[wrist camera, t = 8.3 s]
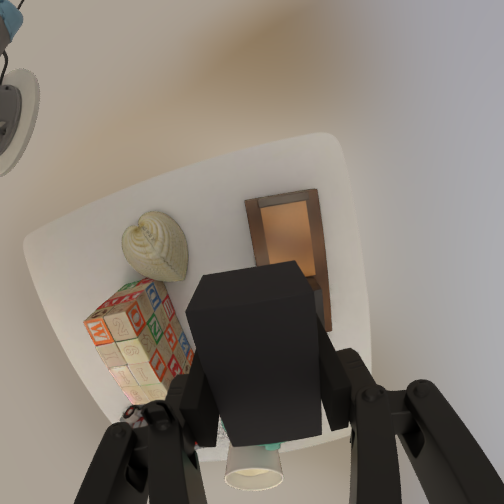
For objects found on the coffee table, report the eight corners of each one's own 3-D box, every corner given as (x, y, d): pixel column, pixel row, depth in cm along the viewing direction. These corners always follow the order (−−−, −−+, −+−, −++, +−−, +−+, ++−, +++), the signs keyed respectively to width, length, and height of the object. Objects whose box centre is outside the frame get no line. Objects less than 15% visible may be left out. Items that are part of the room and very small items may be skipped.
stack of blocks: (212, 389, 41) (204, 445, 29) (179, 394, 41) (164, 447, 29) (160, 272, 36) (124, 311, 24) (123, 283, 36) (80, 322, 24)
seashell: (155, 190, 31) (191, 232, 28) (174, 225, 39) (206, 262, 36) (103, 232, 29) (132, 280, 26) (131, 259, 37) (160, 301, 34)
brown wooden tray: (244, 200, 34) (244, 203, 28) (314, 188, 34) (327, 189, 28) (269, 338, 39) (273, 362, 33) (329, 326, 39) (341, 347, 33)
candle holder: (288, 429, 44) (296, 477, 33) (254, 449, 46) (255, 494, 34) (250, 410, 43) (251, 462, 31) (217, 432, 44) (212, 480, 33)
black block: (202, 275, 15) (184, 311, 10) (295, 259, 14) (314, 291, 10) (235, 397, 17) (232, 447, 12) (308, 386, 16) (321, 435, 12)
